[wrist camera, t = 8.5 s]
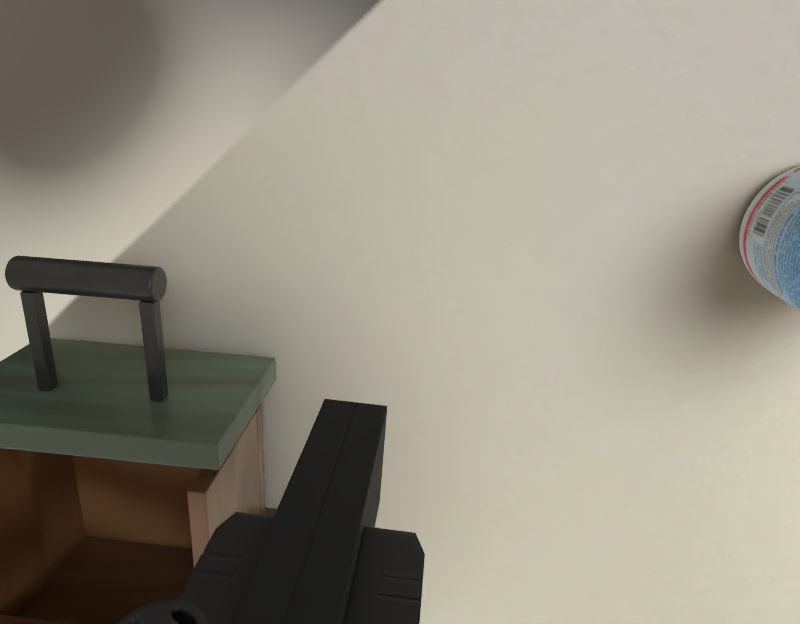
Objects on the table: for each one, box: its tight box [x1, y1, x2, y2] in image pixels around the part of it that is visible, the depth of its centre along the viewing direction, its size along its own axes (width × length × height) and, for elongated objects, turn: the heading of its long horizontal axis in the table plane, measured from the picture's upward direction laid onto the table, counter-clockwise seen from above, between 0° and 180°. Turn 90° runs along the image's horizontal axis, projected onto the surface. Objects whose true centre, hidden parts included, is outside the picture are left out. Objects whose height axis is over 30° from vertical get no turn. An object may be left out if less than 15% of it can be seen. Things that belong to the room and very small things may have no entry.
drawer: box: [0, 256, 276, 624], centre depth 28 cm, size 18×12×8 cm
